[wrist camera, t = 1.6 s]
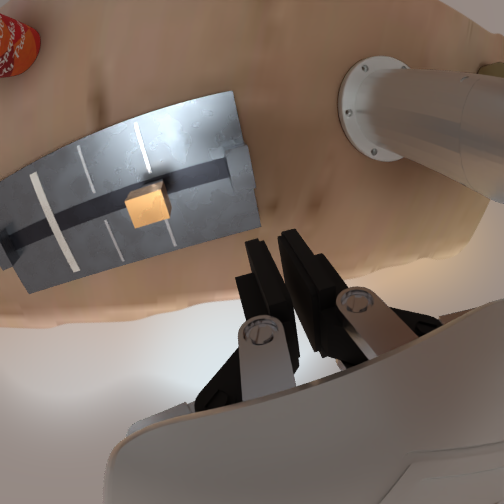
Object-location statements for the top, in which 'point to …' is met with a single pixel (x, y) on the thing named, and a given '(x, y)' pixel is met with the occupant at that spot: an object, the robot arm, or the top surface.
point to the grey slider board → (118, 188)
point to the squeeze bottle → (493, 70)
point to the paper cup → (17, 46)
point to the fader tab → (149, 204)
